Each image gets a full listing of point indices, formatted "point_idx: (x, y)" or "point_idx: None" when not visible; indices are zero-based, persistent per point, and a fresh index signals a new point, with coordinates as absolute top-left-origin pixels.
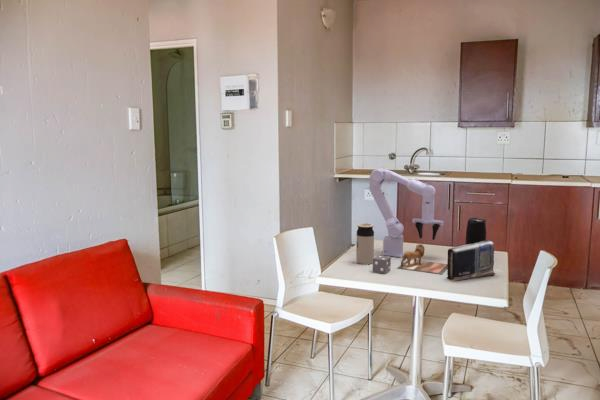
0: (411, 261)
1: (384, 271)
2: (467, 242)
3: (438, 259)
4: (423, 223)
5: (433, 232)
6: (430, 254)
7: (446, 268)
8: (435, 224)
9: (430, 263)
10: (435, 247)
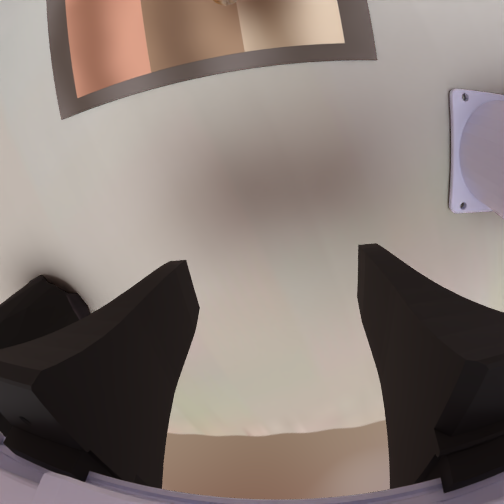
0: (325, 4)
1: None
2: (9, 342)
3: (184, 196)
4: (369, 493)
5: (118, 312)
6: (291, 290)
7: (52, 26)
8: (48, 456)
9: (172, 40)
10: (317, 413)
